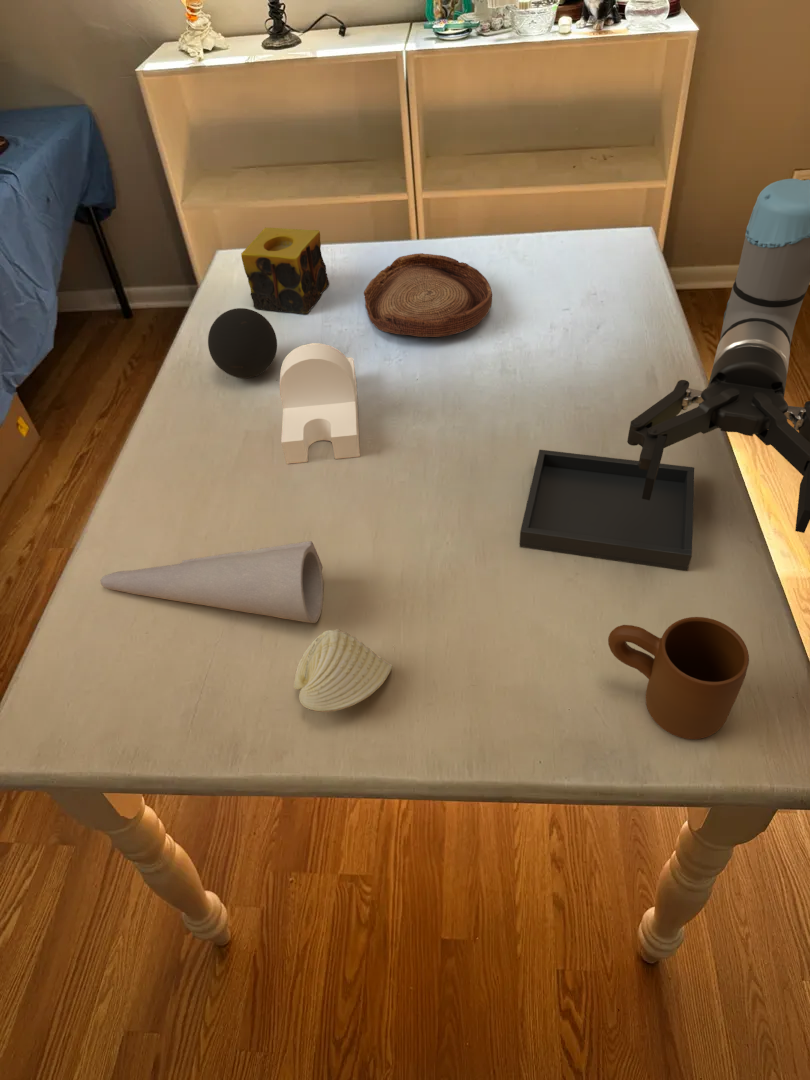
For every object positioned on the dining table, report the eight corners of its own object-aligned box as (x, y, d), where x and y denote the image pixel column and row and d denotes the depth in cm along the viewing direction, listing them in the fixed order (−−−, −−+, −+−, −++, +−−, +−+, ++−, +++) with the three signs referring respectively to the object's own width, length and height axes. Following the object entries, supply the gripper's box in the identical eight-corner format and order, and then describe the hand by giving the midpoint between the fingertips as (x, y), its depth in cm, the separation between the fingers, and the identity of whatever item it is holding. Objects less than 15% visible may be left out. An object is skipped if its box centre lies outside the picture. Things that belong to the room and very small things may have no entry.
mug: (589, 709, 76) (599, 652, 69) (610, 649, 80) (622, 590, 73) (718, 754, 71) (743, 698, 65) (733, 688, 76) (758, 630, 69)
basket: (347, 295, 133) (343, 268, 129) (454, 266, 137) (453, 238, 134) (397, 362, 118) (395, 333, 115) (515, 326, 123) (516, 298, 119)
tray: (687, 571, 86) (691, 555, 85) (519, 546, 91) (520, 531, 89) (690, 483, 96) (694, 467, 94) (538, 464, 100) (539, 449, 98)
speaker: (204, 374, 120) (186, 315, 112) (257, 346, 124) (243, 288, 117) (242, 399, 114) (226, 340, 107) (295, 369, 119) (283, 310, 112)
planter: (62, 614, 83) (296, 593, 78) (88, 552, 88) (307, 529, 84) (97, 655, 88) (318, 637, 84) (119, 595, 94) (327, 575, 90)
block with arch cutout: (359, 456, 104) (349, 387, 96) (286, 464, 104) (270, 395, 96) (356, 378, 116) (347, 311, 108) (290, 384, 116) (276, 318, 108)
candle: (330, 285, 136) (322, 229, 129) (308, 316, 129) (298, 258, 122) (277, 280, 138) (265, 225, 131) (252, 310, 132) (239, 253, 125)
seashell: (272, 661, 79) (325, 604, 79) (332, 702, 83) (383, 648, 83) (286, 705, 72) (344, 642, 72) (350, 747, 76) (406, 688, 76)
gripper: (863, 422, 83) (859, 564, 70) (627, 382, 91) (584, 504, 78) (890, 363, 78) (891, 505, 65) (636, 326, 86) (591, 446, 73)
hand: (723, 505), depth 71 cm, fingers open, 13 cm apart
